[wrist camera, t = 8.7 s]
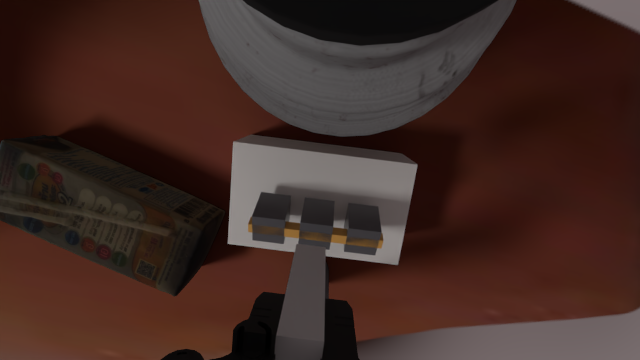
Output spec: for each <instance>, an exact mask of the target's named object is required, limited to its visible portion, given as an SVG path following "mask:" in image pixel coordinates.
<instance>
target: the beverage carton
mask: <svg viewBox="0 0 640 360" xmlns="http://www.w3.org/2000/svg"><path fill="white" fill-rule="evenodd" d="M224 215H225V211H224V210H222V209H220V208H218V207H216V206H214V205H212V204H210V203H207V202H205V201H203V200H201V199H199V198H197V197H195V196H192V195H190V194H188V193H186V192H184V191H181V190H179V189H177V188H175V187H172V186H170V185H168V184H165V183H163V182H161V181H159V180H157V179H154V178H152V177H150V176H148V175H145V174H143V173H141V172H138V171H136V170H134V169H132V168H130V167H127V166H125V165H123V164H121V163H118V162H116V161H114V160H112V159H109V158H107V157H105V156H103V155H100V154H98V153H96V152H94V151H91V150H89V149H86V148H83V147H81V146H78V145H76V144H74V143H72V142H69V141H67V140H65V139H63V138H60V137H58V136H46V135H42V136H32V137H26V138H16V139H5V140H2V141H1V144H0V220H1V221H3V222H6V223H8V224H9V225H12V226H15V227H17V228H19V229H21V230H23V231H25V232H27V233H29V234H32V235H34V236H36V237H39V238H41V239H43V240H46V241H48V242H49V243H52V244H54V245H57V246H59V247H61V248H64V249H66V250H68V251H70V252H73V253H75V254H77V255H79V256H81V257H84V258H86V259H88V260H90V261H92V262H95V263H97V264H100V265H102V266H105V267H107V268H109V269H111V270H113V271H116V272H118V273H121V274H123V275H126V276H128V277H130V278H132V279H135V280H137V281H139V282H142V283H144V284H146V285H149V286H151V287H154V288H156V289H158V290H160V291H163V292H166V293H169V294H171V295H173V296H177V295H178V294H179V293H180V292H181V290H182V289H183V288H184V287H185V286H186V285H187V284H188V283H189V281H190V280H191V279H192V278H193V277H194V275H195V274H196V273H197V272H198V270H199V269H200V268H201V266H202V264H203V262H204V260H205V258H206V256H207V254H208V252H209V250H210V248H211V246H212V243H213V241H214V239H215V237H216V234H217V232H218V230H219V227H220V225H221V222H222V220H223V217H224Z"/></svg>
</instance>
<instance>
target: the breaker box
mask: <svg viewBox="0 0 640 360" xmlns="http://www.w3.org/2000/svg"><path fill="white" fill-rule="evenodd" d="M417 166H418V164H416V163H415V162H413V161H412V160H410V159H409V158H408V157H406V156H405V155H403V154H402V153H396V152H388V151H379V150H371V149H363V148H355V147H347V146H339V145H331V144H323V143H315V142H307V141H299V140H291V139H283V138H275V137H267V136H259V135H249V136H246V137H244V138H241V139H239V140H236V141H234V142H233V156H232V174H231V192H230V211H229V229H228V244H233V245H241V246H249V247H257V248H265V249H273V250H281V251H289V252H295V249H296V244H298V241H299V238H292V237H285V241H284V244H278V243H270V242H262V241H254V240H252V232H248V223H249V220H250V218H251V217H252V215H253V212H254V209H255V207H256V204H257V202H258V199H259V196H260V194H261V192H266V193H274V194H282V195H290V196H291V205H290V219H289V222H295V223H300V221H301V215H302V210H303V204H304V199H305V197H306V198H314V199H322V200H330V201H335V205H334V224H333V227H335V228H343V229H344V223H345V218H346V213H347V207H348V203H354V204H362V205H370V206H378V208H379V216H380V223H381V231H382V233H383V244H382V248H381V249H380V248H377V251H376V254H375V255H367V254H359V253H351V252H344V244H340V243H332V242H331V243H330V249H329V250H327V249H326V256H329V257H337V258H345V259H353V260H361V261H369V262H377V263H385V264H393V265H398V262H399V257H400V252H401V247H402V242H403V237H404V232H405V227H406V222H407V216H408V211H409V206H410V201H411V196H412V191H413V186H414V181H415V176H416V171H417Z"/></svg>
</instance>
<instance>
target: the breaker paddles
mask: <svg viewBox="0 0 640 360" xmlns="http://www.w3.org/2000/svg"><path fill="white" fill-rule="evenodd" d="M290 205H291V196H290V195H282V194H274V193H266V192H261V194H260V196H259V199H258V202H257V204H256V207H255V209H254V212H253V215H252V217H251V218H250V220H249V223H248V232H252V240H254V241H262V242H270V243H278V244H284V241H285V237H292V238H299V241H298V244H303V245H311V246H320V247H326V249H327V250H329V249H330V243H331V242H332V243H340V244H344V252H351V253H359V254H367V255H375V254H376V251H377V248H380V249H381V248H382V244H383V233H382V231H381V223H380V216H379V208H378V206H370V205H362V204H354V203H348V207H347V213H346V218H345V223H344V229H343V228H335V227H333V224H334V205H335V201H330V200H322V199H314V198H306V197H305V199H304V204H303V210H302V215H301V221H300V223H295V222H289V219H290Z"/></svg>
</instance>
